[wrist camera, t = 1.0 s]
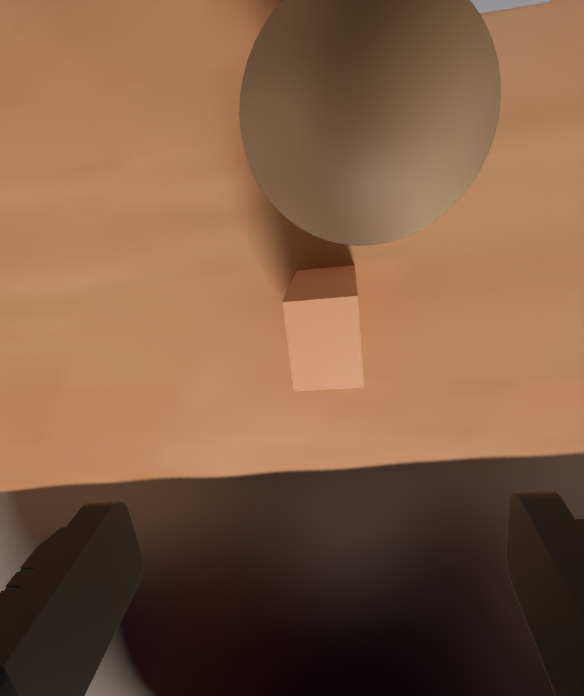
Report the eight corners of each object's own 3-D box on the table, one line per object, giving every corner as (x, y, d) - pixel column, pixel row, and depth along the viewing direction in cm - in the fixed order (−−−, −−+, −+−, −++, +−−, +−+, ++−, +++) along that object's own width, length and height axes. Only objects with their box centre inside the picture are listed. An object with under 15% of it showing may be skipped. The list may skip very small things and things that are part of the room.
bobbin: (433, 35, 20) (507, -71, 11) (434, 205, 22) (495, 232, 13) (272, 60, 21) (219, -17, 12) (291, 221, 23) (258, 256, 14)
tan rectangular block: (354, 264, 24) (357, 295, 18) (359, 337, 25) (364, 386, 19) (296, 270, 24) (282, 302, 18) (305, 342, 25) (293, 391, 20)
